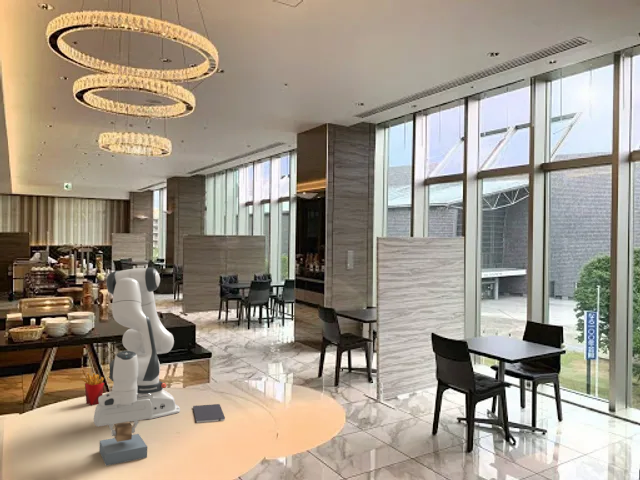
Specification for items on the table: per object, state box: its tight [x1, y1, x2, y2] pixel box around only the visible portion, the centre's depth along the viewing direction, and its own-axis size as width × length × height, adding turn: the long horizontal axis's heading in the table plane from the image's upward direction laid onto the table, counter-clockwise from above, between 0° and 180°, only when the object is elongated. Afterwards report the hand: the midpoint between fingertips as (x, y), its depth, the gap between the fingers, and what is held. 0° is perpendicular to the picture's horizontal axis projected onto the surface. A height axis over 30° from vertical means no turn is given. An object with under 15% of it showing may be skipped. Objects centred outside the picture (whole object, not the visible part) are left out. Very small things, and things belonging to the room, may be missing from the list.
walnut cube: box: [114, 421, 133, 442], centre depth 179 cm, size 5×5×5 cm
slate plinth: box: [98, 433, 148, 467], centre depth 179 cm, size 14×14×4 cm
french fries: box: [81, 372, 105, 406], centre depth 235 cm, size 9×8×15 cm
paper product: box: [192, 403, 226, 424], centre depth 225 cm, size 13×2×21 cm
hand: (123, 433), depth 179 cm, fingers closed on walnut cube, 5 cm apart
